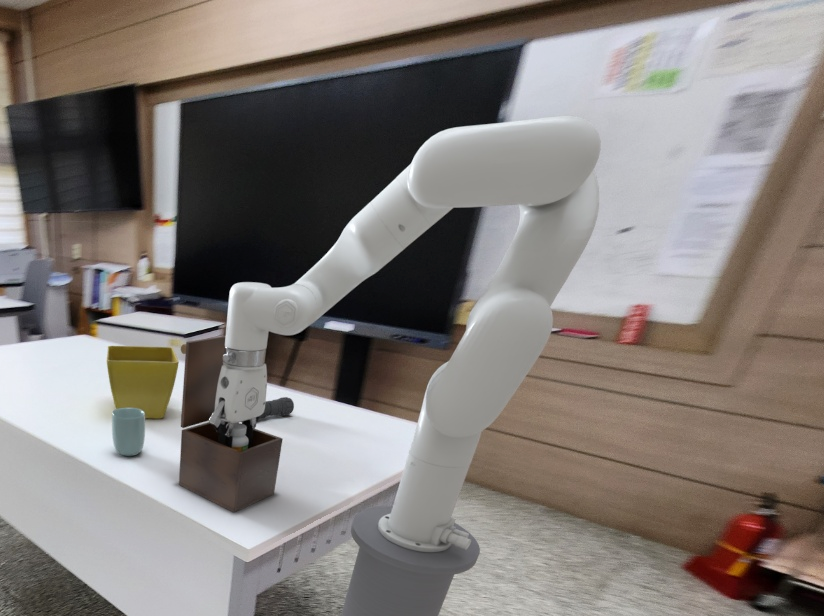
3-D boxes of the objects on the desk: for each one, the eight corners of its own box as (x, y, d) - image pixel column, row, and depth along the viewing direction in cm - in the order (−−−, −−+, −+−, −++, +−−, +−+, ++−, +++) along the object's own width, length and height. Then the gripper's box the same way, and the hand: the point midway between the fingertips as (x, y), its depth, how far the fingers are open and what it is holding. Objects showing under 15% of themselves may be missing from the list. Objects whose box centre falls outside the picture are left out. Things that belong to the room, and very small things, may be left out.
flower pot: (170, 402, 160) (172, 346, 152) (176, 423, 144) (179, 361, 135) (108, 401, 159) (107, 345, 150) (107, 422, 142) (106, 360, 134)
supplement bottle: (242, 478, 103) (247, 432, 98) (215, 474, 104) (220, 428, 99) (246, 468, 107) (252, 423, 102) (221, 464, 109) (225, 419, 104)
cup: (116, 460, 120) (115, 419, 115) (109, 448, 127) (108, 408, 122) (148, 457, 122) (149, 416, 117) (140, 445, 129) (140, 406, 124)
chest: (273, 494, 107) (282, 438, 101) (233, 512, 100) (240, 453, 94) (219, 469, 117) (224, 417, 111) (178, 484, 110) (181, 429, 104)
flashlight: (282, 411, 155) (285, 393, 152) (294, 417, 151) (297, 398, 148) (240, 417, 149) (242, 399, 146) (251, 423, 145) (253, 404, 142)
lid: (234, 335, 102) (214, 330, 106) (189, 342, 95) (168, 336, 98) (225, 416, 111) (207, 408, 114) (183, 428, 103) (164, 420, 107)
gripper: (228, 368, 87) (218, 466, 96) (289, 355, 97) (275, 445, 106) (196, 359, 92) (190, 454, 101) (258, 348, 102) (247, 435, 111)
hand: (234, 449), depth 103 cm, fingers closed on supplement bottle, 5 cm apart
